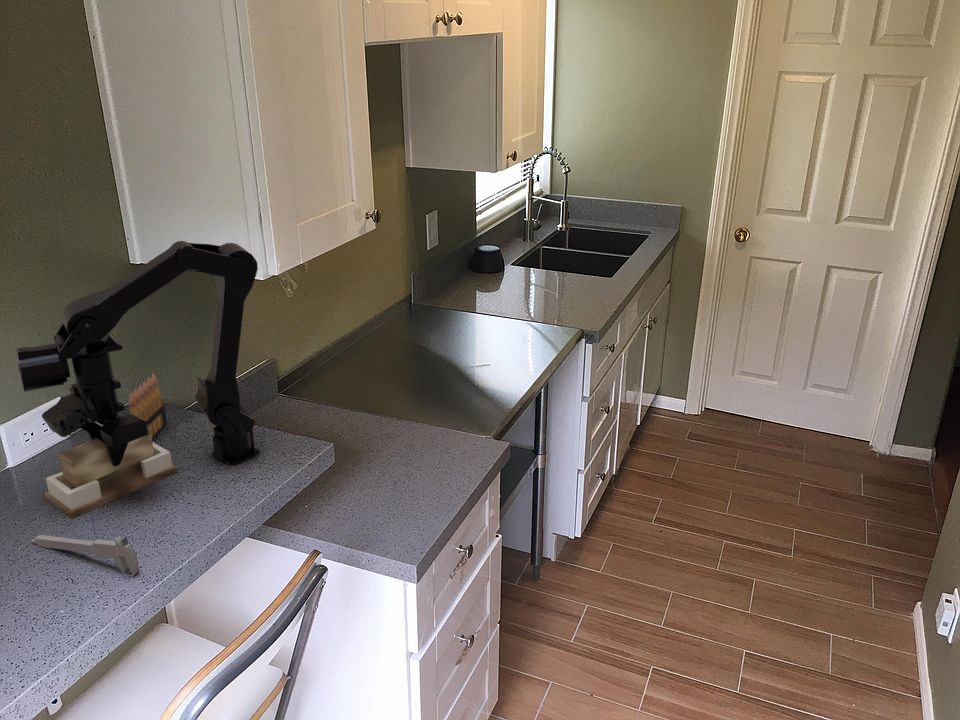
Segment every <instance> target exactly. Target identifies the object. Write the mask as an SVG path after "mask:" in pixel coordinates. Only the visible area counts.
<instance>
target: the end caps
mask: <svg viewBox="0 0 960 720" xmlns="http://www.w3.org/2000/svg"><path fill="white" fill-rule="evenodd" d="M153 449H154V455H152V456H150V457H148V458H147V459H145V460H142V461H141V466H142V472H143V476H144V477H145V478H148V477H150V476H152V475H155V474H157V473H159V472H162V471H164V470H166V469H169V468H171V467H172V464H173V462H172V456H171V451H169V450H168V449H166V448H164V447H163V446H160V445H159V444H157V443H155V442H153ZM45 482H46V486H47V492H49V494H50V495H51V496H53V497H54V498H55V499H57V500H58V501H60V502H61V503H62V504H64V505H65V506H66V507H68V508H69V509H70V510H74V509H76V508H78V507H81V506H83V505H85V504H88V503H90V502H92V501H94V500H97V499H99V498H101V491H100V486H99V482H98V481H97V480H94V481H91V482H89V483H87V484H84V485H82V486H79V487H77V488H74V489H72V490H71V489H70V488H72V487H74V486H73V485H71V484H70V483H68V482H67V481H65V480H64V478H63V473H62V471H60V472H58V473H56V474H52V475H50V476H48V477H45Z"/></svg>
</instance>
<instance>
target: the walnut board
mask: <svg viewBox="0 0 960 720" xmlns="http://www.w3.org/2000/svg"><path fill="white" fill-rule="evenodd" d="M145 459H147V458H145ZM145 459H143V460H145ZM141 461H142V460H141ZM141 461H138V462H136V463H134V464H131V465H129V466H127V467H124V468H122V469H119V470H117V471H115V472H112V473H110V474H108V475H105V476H103V477H101V478H98V479H96V480H97V481H98V482H99V486H100V491H101V498H99V499H97V500H94V501H92V502H90V503H88V504H85V505H83V506H81V507H78V508H76V509H74V510H70V509H69V508H68V507H66V506H65V505H64V504H62V503H61V502H60V501H58V500H57V499H55V498H54V497H53V496H51V495H50V494H49V492H48V491H47V492H43V495H44V496H43V497H44V499H45V500H46V501H48V502H49V503H50V504H51V505H53V506H54V507H55V508H57V509H58V510H60V511H61V512H62V513H64V514H65V515H66V516H67V517H69V518H70V519H74V518H76V517H78V516H81V515H83V514H85V513H87V512H90V511H91V510H95V509H97V508H99V507H101V506H103V505H105V504H108V503H110V502H113V501H115V500H117V499H120V498H121V497H124V496H126V495H129V494H131V493H134V492H136V491H138V490H140V489H142V488H145V487H147V486H149V485H151V484H155V483H156V482H159V481H161V480H162V479H166V478H167V477H170V476H173V475H175V474H176V473H179V470H178V467H177V466H176V465H174V464H173V463H172V467H171V468H169V469H166V470H164V471H162V472H159V473H157V474H155V475H152V476H150V477H148V478H145V477H144V476H143V472H142V466H141ZM74 488H76V487H72V488H70V489H71V490H72V489H74Z"/></svg>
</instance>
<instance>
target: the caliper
mask: <svg viewBox="0 0 960 720" xmlns="http://www.w3.org/2000/svg"><path fill="white" fill-rule="evenodd" d="M29 543H30V544H36V546H39V547H42V548H45V549H55V550H56V549H57V550H63V551H71V552H78V553H79V552H81V553H85V554H86V553H89V554H95V556H96V558H97V559H100V560H101V559H103V560H107V559H113V560H114V561H115V563H116V565H117V566H118V568H119V570H120V571H121V573H122V572H123V573H122V574H125V573H126V572H127V571H128V572H130V574H131V576H135V575H136V574H138V573H139V572H140V564H139V561H138V555H137V553H136V550H135V548H134V546H133V543H131V542H130V543H129V541H128V538H127V536H125V537H122V536H121V535H119V536H117V537H116V538H114V540H106V539H95V540H88V539H87V540H86V539H77V538H69V537H61V536H51V535H44V534H43V535H42V534H39V535H38V536H36V537H34V538H33V539H31V540H30V541H29ZM128 572H127V573H128ZM127 573H126V574H127Z"/></svg>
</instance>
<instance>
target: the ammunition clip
mask: <svg viewBox="0 0 960 720" xmlns="http://www.w3.org/2000/svg"><path fill="white" fill-rule="evenodd" d="M146 380H147V381H146ZM146 380H144V381H143V383H142V384H139V386H138V388H135V389H134V391H133V393H132V392H130V393H129V397H128V404H129V414H132V415H134V416H136V417H138V418H140V419H142V420H144V421H145V422H147V423H148V428H149V429H150V430H151V436H152V442H153V441H154V440H155V439H156V438H157V437H158V435H159V434H160V433H161V432H162V431H163V429H165V427H166V426H167V425H168V421H167V414H166V409H165V404H163V399H162V393H161V391H160V386H159V380H158V379H157V376H156V374H155V373H154V372H153V373H152V374H151V377H150V376H147V379H146ZM158 438H159V437H158ZM158 438H157V439H158ZM157 439H156V440H157ZM156 440H155V441H156ZM155 441H154V442H155ZM154 442H153V443H154Z"/></svg>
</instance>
